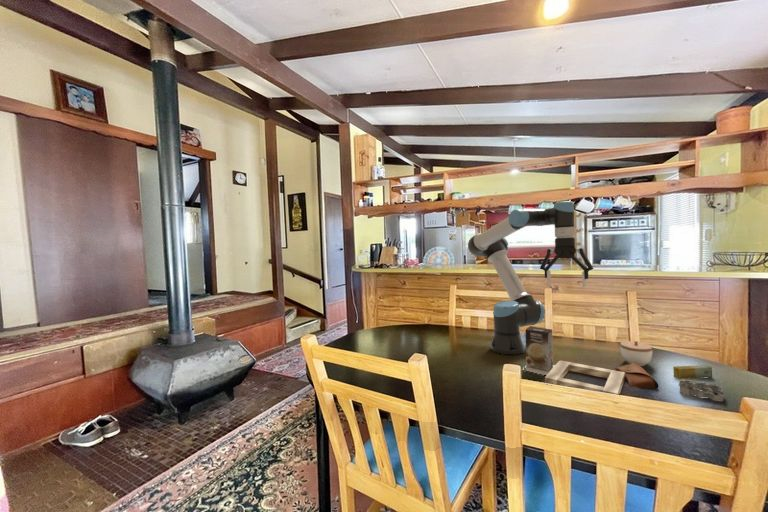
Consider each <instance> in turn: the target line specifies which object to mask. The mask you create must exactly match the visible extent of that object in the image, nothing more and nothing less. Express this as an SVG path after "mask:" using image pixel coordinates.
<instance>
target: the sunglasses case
mask: <svg viewBox="0 0 768 512" xmlns="http://www.w3.org/2000/svg"><path fill="white" fill-rule="evenodd" d="M614 369H615V371H620V372H625V381H626V382H627V384H628V385H629V386H630V387H633V388H634V387H636V388H643V389H644V388H645V389H655V390H658V388H659V383H658V382H657V380H655V378H654V377H652V376H651V374H649V372H647V370H645V369H644V368H643V366H639V365H638V364H637V363H636V362H635V361H634V362H633V363H631V364H629V363H627V364H625V365H622V366H618V367H614Z"/></svg>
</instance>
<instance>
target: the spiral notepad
mask: <svg viewBox="0 0 768 512" xmlns="http://www.w3.org/2000/svg"><path fill="white" fill-rule="evenodd" d="M555 365H556V364H553V367H554V366H555ZM524 367H525V368H526V370H527V371H530V372H534V373H533V374H535V373H537V374H536V375H539V374H542V375H541V376H544V375H547V374H548V373H549V372H550V371H551V370H552V369H553V368H552V369H551V370H550V371H549V372H546V371H542V370H538V369H534V368H529V367H526V365H525V366H524ZM524 367H522V368H523V369H522V368H521V371H522V370H524ZM530 372H529V373H530Z"/></svg>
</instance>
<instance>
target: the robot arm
mask: <svg viewBox="0 0 768 512" xmlns="http://www.w3.org/2000/svg"><path fill="white" fill-rule="evenodd" d="M574 206H575V205H574V201H570V200H564V201H557V202H554V204H553V207H550V208H549V207H548V208H518V209H517V208H516V209H513V210H511V212H510V213H509V215H508V217H506V218H505V219H503V220H501V221H500V222H498V223H497V224H494V225H493V226H492V227H490V228H489V229H486V230H485V231H483V232H482V233H481V232H479V233H477V234H474V235H473V236H472V237H470V238H469V240H468V242H467V249H468V251H469V252H470V254H471V255H473V256H475V257H485V258H486V260H487V261H488V262H489V263H491V264H492V265H493V267H494V269H495V271H496V273H497V274H498V275H497V276H498V277H499V279H500V282H501V283H502V285H503V287H504V288H505V291H506V293H507V295H508V297H509V299H510V300H504V301H500V302H496V303H495V304H494V306H493V312H492V313H493V330H494V333H493V337H492V340H491V343H490V350H491V349H492V350H493V351H492V350H491V351H492V352H494V351H495V352H494V353H496V352H497V353H496V354H499V353H501V354H500V355H504V354H518V355H521V354H520V353H522V354H523V353H525V346H524V342H523V341H522V338H521V334H520V328H522V327H523V328H524V327H527V326H528V327H529V326H534V325H537V324H540V323H541V322H543V320H544V319H545V315H546V309H545V306H544V305H543V303H542V302H541V301H539V300H536V299H535V298H534V297H533V295H532V294H530V293H528V292H527V290H526V288H525V287H524V285H523V283H522V281H521V280H520V278H519V276H518V274H517V272H516V270H515V268H514V266H513V265H512V263H511V261H510V259H509V257H508V253H509V243H508V241H507V239H506V237H508V236H510V235H512V234H514V233H515V232H517V231H519V230H521V229H524V228H525V227H533V226H534V227H540V226H541V227H543V226H551V225H553V226H554V237H555V239H554V247H555V248H554V249H553V248H547V250H546V254H545V257H544V259H543V260H542V262H541V265H540V266H539V269H540V270H542V271H543V272H544V278H545V279H546V280H547V281H546V283H547V286H548V287H549V286H551V284H552V277H551V274H552V273H551V270H550V269H551V268H552V267H553V265H554V264H555V263H556V262H557V261H558V260H559V259H560V260H563V259H566V260H570V259H571V260H573V262H575V263H576V264H577V265H578V267H580V269H582V270H583V271H581V284H582V285H581V286H582V288H586V287H587V285H586V284H587V282H586V280H588V279H589V271H592V270H594V267H593V264H592V263H591V261H590V259H589V258H588V257H587V254H586V253H585V248H583V247H580V248H576V239H575V235H576V234H575V233H576V232H575V207H574ZM576 253H578V254H579V255H580V257H581V258H582V261H583V262H584V263H585V264H584V263H583V262H582V261H581V260H580V259H579V258H578V257H577V256H576V255H575V254H576ZM552 254H555V256H554V257H553V258H552V259H551V261H550V262H549V259H550V258H551V256H552ZM548 262H549V263H548ZM547 263H548V264H547Z"/></svg>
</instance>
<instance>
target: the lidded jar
mask: <svg viewBox="0 0 768 512" xmlns="http://www.w3.org/2000/svg"><path fill="white" fill-rule="evenodd" d="M619 344H620V353H621V356H622V358H623V359H624V360H625V361H626V362H627V364H631V363H633V362H634V361H635V362H636V363H637V364H638V365H639V366H641V367H645V366H646V365H647V364H649V363H650V361H651V360H652V359H653V358H652V357H653V351H654V347H653V346H652V345H651V344H648V343H646V342H643V341H642V342H641V341H638V340H634V341H633V340H625V341H621V342H620V343H619Z"/></svg>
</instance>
